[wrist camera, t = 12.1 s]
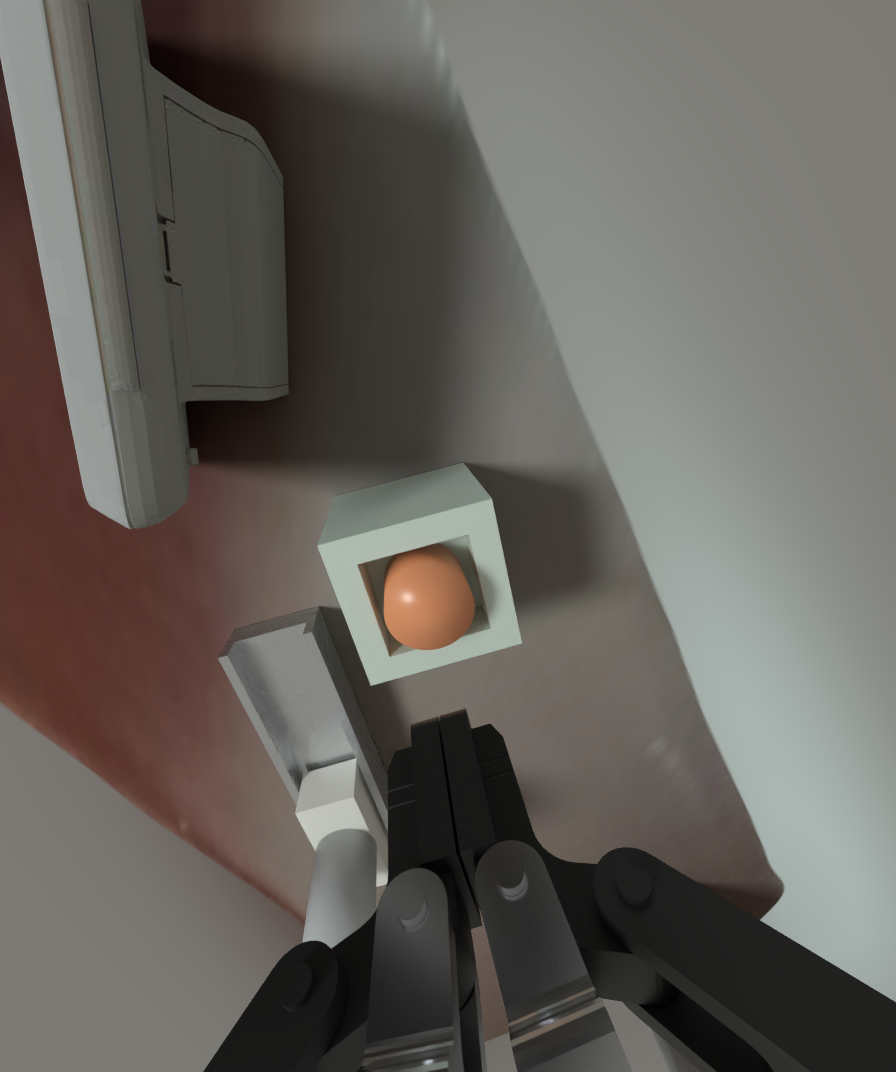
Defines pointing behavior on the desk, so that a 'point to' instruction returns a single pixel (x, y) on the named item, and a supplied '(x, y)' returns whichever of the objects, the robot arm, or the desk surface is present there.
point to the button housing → (405, 524)
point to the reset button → (427, 598)
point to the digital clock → (142, 246)
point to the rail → (302, 700)
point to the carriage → (341, 850)
